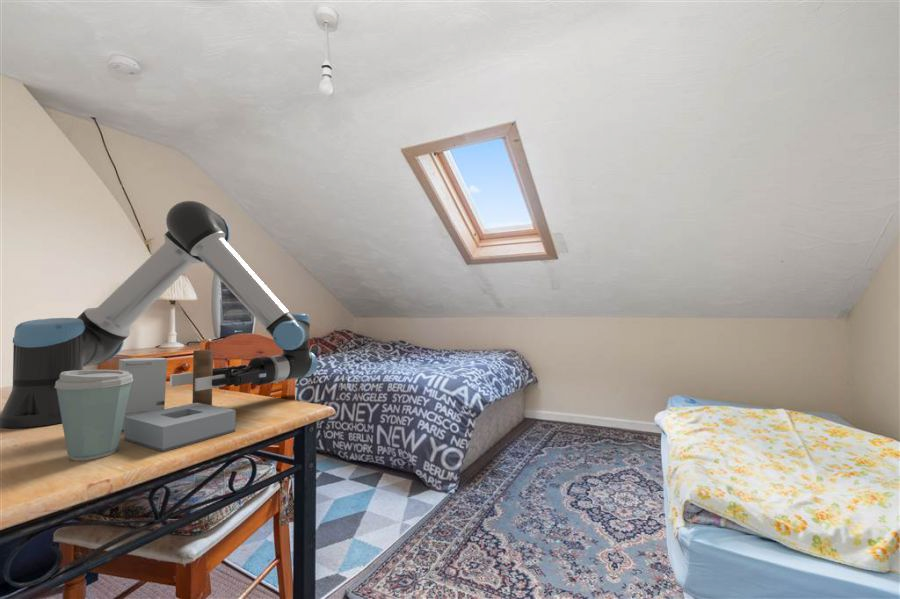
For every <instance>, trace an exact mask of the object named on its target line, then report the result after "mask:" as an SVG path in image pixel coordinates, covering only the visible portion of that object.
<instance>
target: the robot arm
mask: <svg viewBox="0 0 900 599" xmlns="http://www.w3.org/2000/svg"><path fill="white" fill-rule="evenodd" d="M165 220H166V222H165V223H166V226H167V230H168V231H166V232H165V233H164V235H163V236H164V243H163V244H162V245H161V246H160V247H159V248H158V249H157V250H156V251H155V252H154V253H152V255H151V256H150V257H149V258H148V259H146V260H145V261H144V262H143V263H142V264H141V265H140V266H138V268H137V269H136V270H135V271H134V272H133V273H132V274H130V276H128V278H127V279H126V280H125V281H123V283H122V284H121V285H120V286H118V287H117V288H116V289H115V290H114V291H113V292H112V293H111V294H110V295H109V296H108V297H107V298H106V299H105V300H104V301H103V302H101V304H100V305H99V306H97V307H89V308H86V309H84V310H83V311H82V312H81V314H79V315H78V316H77V317H51V318H41V319H40V318H39V319H32V320H27V321H23V322H20V323H19V324H17V325H16V327H15V328H14V336H13V338H12V343H13V345H12V346H13V356H12V357H13V358H12V359H13V360H12V388H11V392H10V394H9V395H8V398H7V400H6V402H5V404H4V406H3V409H2V411H1V413H0V427H1V428H10V429H14V428H15V429H17V428H19V429H21V428H32V427H33V428H34V427H42V426H50V425H55V424H56V425H57V424H62V418H61V412H60V406H59V401H58V395H57V389H56V388H55V383H56V381H57V380H58V379H60V374H61V373H62V372H65V371H74V370H84V367H89V366H98V365H100V364H103V363H106V362H107V361H110V360H112V359H113V358H114V357H116V356H117V355H119V353H120V352H121V350H122V348H123V347H124V343H125V340H127V338H128V337H129V336H130V335H131V328H130V327H131V325H132V324H134V322H136V321H137V320H138V318H140V317H141V316H142V315H143V314H144V313H145V312H146V311H147V309H149V308H150V307H151V306H152V305H153V304H154V303H155V301H157V300H158V299H159V298H160V297H161V296H162V295H163V294H164V293H165V292H166V291H167V290H168V289H169V288H170V287H171V286H172V285H173V284H174V283H176V281H177V280H178V279H179V278H180V277H181V276H182V275H183V274H184V273H185V272H186V271H187V270H188V269H189V268H191V266H192V265H193V264H202V263H204V264H205V265H206V266H207V267H208V268H209V270H211V271H212V273H213V274H214V275H216V277H217V278H218V279H219V280H220V281H221V283H223V285H224V286H225V287H226V288H227V289H228V290H229V291H230V292H231V293H232V294H233V295H234V296H235V297H236V299H237V300H239V302H240V303H241V304H242V305H243V306H244V307H245V309H247V311H248V312H249V313H250V314H251V315H252V316H253V317H254V318H255V320H256V321H258V323H260V325H261V326H262V327H263V328H264V329H265V331H266V332H267V333H268V334H269V335H270V336H271V337H272V340H273V342H274V344H275V346H277V347H278V348H279V349H282V354H275V355H267V356H260V357H259V356H258V357H254V358H252V359H251V360H250V361H249V363H248V365H246V364H242V365H238V366H235V365H232V366H225V367H215V368H213V376H209V377H203V378H196V379H195V391H200V390H206V389H211V388H212V389H215V388H223V387H231V386H234V387H238V386H243V385H246V384H252V385H254V386H262V385H267V384H273V383H274V384H276V385H278V384H279V382H282V381H289V380H294V379H295V380H296V379H303V378H304V377H308V376H311V375H313V374H314V373H315V372H316V370H317V368H318V360H317V356H316V355H315V353H313V352H312V351H310V326H311V324H310V315H309V314H308V313H291V312H290V311H289V310H288V309H287V307H286V306H285V305H284V304H283V302H281V300H279V298H278V297H277V296H276V295H275V294H274V293H273V292H272V290H271V289H270V288H269V287H268V286H267V285H266V284H265V283H264V281H262V279H261V278H260V277H259V276H258V275H257V274H256V273H255V272H254V270H253V269H252V268H251V267H250V266H249V264H247V263H246V262H245V261H244V259H243V258H242V257H241V256H240V255H239V254H238V253H237V251H236V250H235V249H234V248H233V247H232V246H231V245H230V244H229V242H230V238H231V231H230V227H229V225H228V223H227V222H226V220H225V218H223V217H222V215H220V214H218V213H217V212H215V211H214V210H212V209H211V208H210V207H209V206H207V205H206V204H204V203H201V202H199V201H196V200H195V201H194V200H185V201H181V202H178V203H176V204H175V205H173V206H172V207H171V208H170V209H169V211H168V212H167V214H166V218H165ZM184 385H193V371H189V372H183V373H182V372H181V373H176V374H175V373H174V374H170V375H169V387H172V388H173V387H178V386H179V387H180V386H184Z"/></svg>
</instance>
